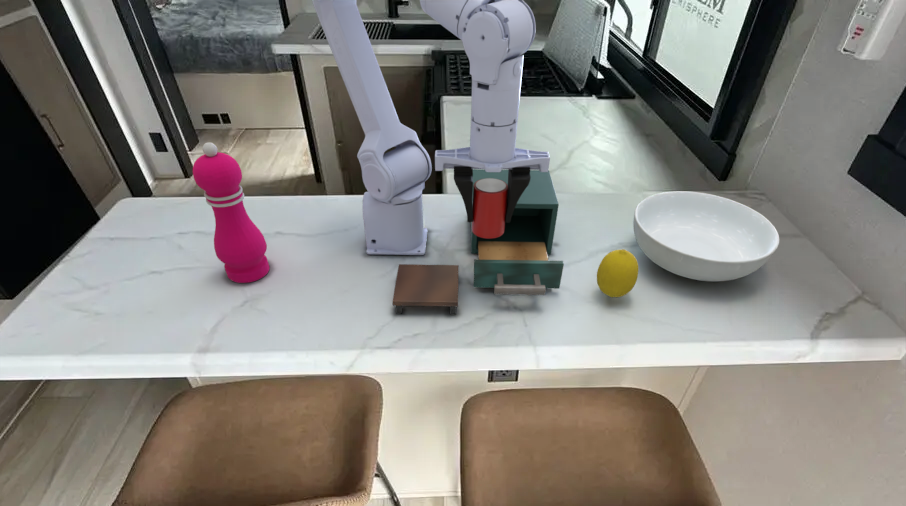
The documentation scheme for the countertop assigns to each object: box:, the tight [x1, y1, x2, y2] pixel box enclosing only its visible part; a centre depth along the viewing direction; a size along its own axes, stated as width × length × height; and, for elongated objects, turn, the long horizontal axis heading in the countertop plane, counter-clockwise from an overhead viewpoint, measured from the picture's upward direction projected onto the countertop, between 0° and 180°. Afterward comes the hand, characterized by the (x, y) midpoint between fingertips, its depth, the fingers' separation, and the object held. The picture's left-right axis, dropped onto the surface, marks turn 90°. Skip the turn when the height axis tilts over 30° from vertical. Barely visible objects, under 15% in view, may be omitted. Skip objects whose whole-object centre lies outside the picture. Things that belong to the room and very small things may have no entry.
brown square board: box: [392, 263, 460, 315], centre depth 74 cm, size 9×9×2 cm
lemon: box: [596, 248, 639, 298], centre depth 72 cm, size 6×6×8 cm
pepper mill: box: [192, 141, 270, 284], centre depth 72 cm, size 7×7×20 cm
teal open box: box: [470, 169, 559, 255], centre depth 85 cm, size 13×12×9 cm
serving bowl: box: [632, 190, 780, 282], centre depth 80 cm, size 21×21×7 cm
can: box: [472, 178, 508, 239], centre depth 70 cm, size 5×5×7 cm
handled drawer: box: [472, 241, 565, 296], centre depth 76 cm, size 13×16×4 cm
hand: (488, 218), depth 71 cm, fingers closed on can, 4 cm apart
